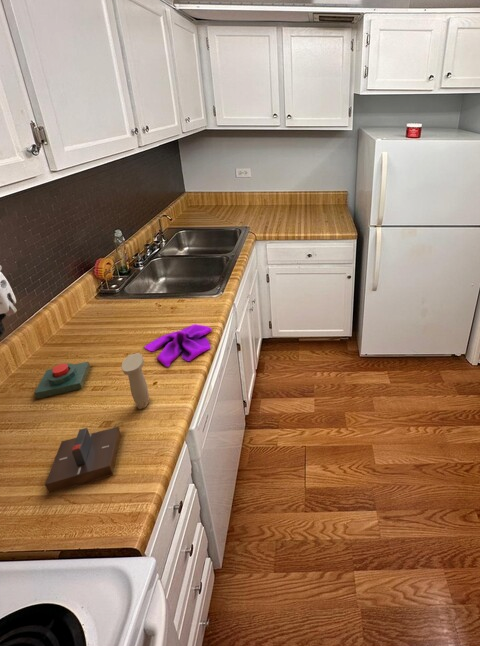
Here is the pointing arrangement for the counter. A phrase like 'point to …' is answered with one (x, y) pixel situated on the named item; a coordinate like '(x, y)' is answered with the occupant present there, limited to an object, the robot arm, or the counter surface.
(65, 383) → the button box
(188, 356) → the cloth
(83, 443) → the knob
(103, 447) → the panel
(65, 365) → the button
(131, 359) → the handle
